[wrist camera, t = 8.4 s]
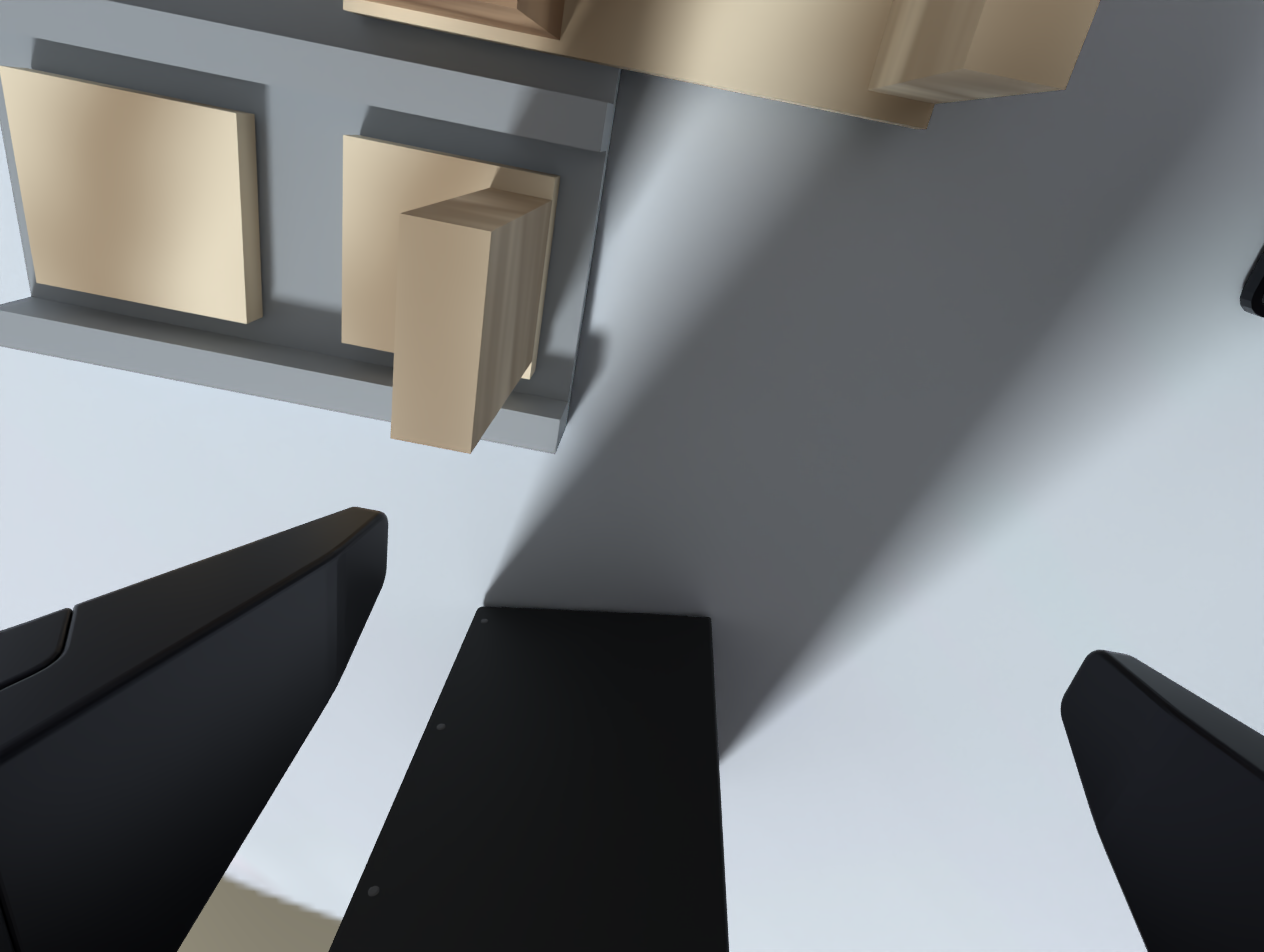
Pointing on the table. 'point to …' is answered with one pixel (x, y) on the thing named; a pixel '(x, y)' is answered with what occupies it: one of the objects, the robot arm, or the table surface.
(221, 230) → the strip broken
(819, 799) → the table surface
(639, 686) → the black rectangular block
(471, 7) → the cube
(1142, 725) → the robot arm
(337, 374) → the lane board
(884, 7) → the tan piece
